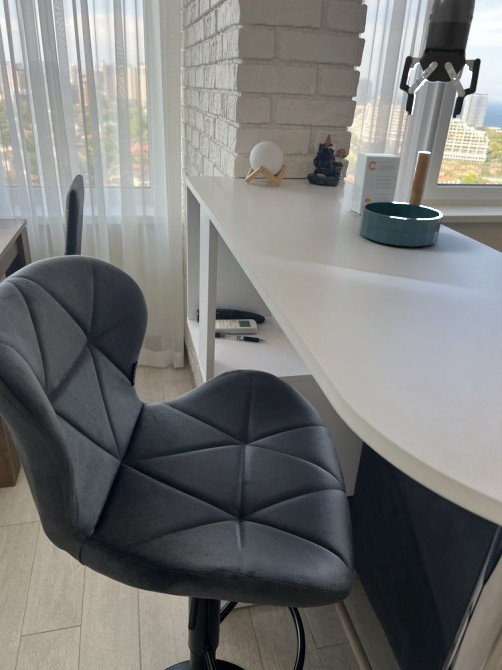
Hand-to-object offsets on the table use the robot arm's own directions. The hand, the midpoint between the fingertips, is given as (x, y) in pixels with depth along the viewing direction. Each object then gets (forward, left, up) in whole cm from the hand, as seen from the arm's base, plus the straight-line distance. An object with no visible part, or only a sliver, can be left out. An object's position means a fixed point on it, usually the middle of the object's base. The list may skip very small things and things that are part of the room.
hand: (431, 116), depth 101 cm
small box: (+10, -7, -22) cm, 25 cm away
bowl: (+2, +14, -22) cm, 26 cm away
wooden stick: (0, 0, -22) cm, 22 cm away
